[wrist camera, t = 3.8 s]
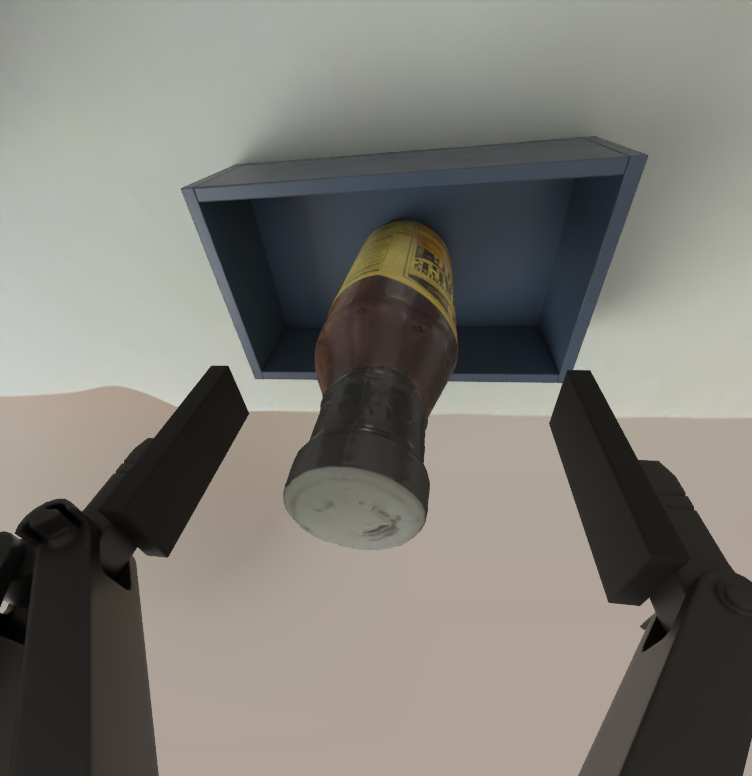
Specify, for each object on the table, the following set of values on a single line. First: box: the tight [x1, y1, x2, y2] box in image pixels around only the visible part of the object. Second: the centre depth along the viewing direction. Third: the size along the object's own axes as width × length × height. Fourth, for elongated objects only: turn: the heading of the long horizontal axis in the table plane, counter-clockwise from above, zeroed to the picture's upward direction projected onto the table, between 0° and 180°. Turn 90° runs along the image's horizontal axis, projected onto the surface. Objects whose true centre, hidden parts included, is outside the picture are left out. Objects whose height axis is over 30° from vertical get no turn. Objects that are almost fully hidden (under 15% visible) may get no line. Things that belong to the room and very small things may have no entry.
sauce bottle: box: [283, 219, 458, 550], centre depth 17 cm, size 7×6×20 cm
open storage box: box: [181, 136, 648, 383], centre depth 23 cm, size 21×12×6 cm, turn 94°
